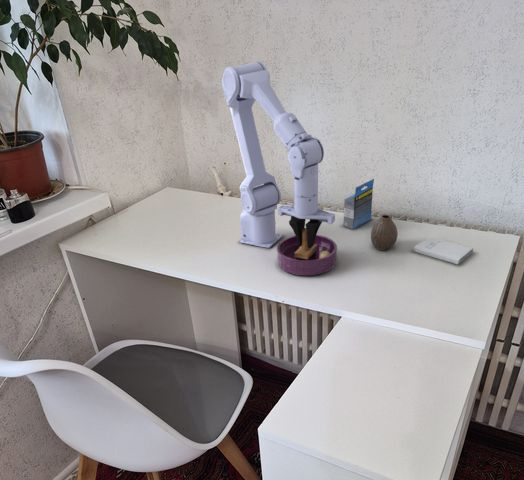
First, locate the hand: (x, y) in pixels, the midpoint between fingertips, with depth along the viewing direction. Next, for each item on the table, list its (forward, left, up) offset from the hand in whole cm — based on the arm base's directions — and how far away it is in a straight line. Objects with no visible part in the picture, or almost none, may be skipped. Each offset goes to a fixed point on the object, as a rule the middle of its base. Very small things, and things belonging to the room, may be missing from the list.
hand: (306, 245), depth 129 cm
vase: (+15, +16, -5) cm, 23 cm away
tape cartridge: (+3, +28, -5) cm, 29 cm away
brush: (0, 0, -4) cm, 4 cm away
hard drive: (+30, +19, -5) cm, 36 cm away
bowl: (0, 0, -5) cm, 5 cm away
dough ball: (+5, +1, -3) cm, 6 cm away
